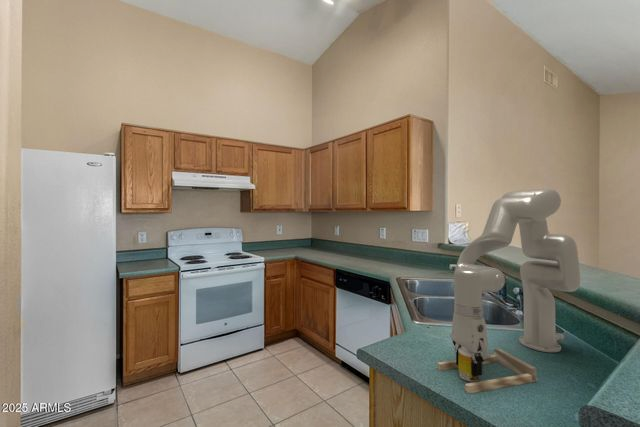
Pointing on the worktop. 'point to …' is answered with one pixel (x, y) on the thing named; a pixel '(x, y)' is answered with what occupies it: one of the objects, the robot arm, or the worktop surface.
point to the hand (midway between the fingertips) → (468, 369)
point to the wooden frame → (514, 364)
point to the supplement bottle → (466, 365)
